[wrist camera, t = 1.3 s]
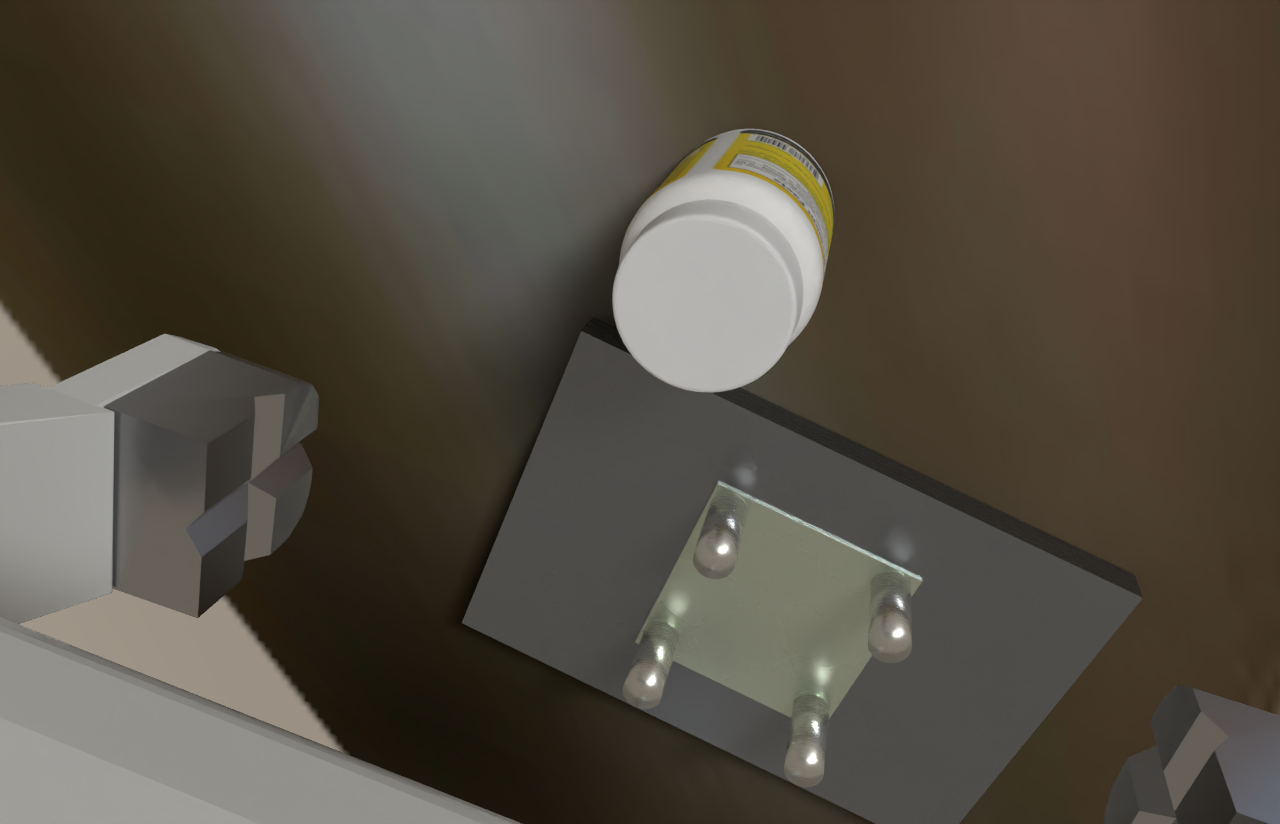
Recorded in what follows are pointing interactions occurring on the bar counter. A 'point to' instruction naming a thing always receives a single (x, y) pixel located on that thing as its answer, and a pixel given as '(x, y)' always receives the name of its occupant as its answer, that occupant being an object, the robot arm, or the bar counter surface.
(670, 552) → the grey fixture plate
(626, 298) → the supplement bottle
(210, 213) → the bar counter surface
